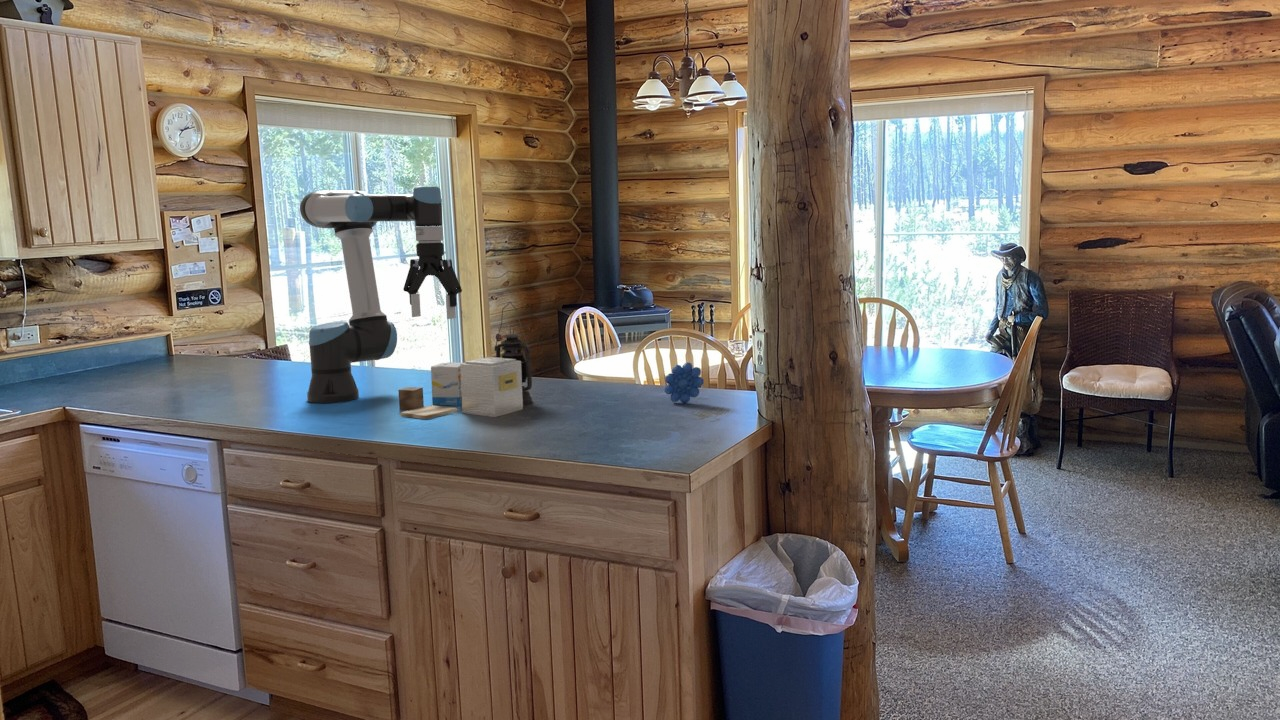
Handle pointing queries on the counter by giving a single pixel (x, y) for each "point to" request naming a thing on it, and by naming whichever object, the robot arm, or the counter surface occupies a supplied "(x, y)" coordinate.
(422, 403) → the walnut block
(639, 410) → the counter surface
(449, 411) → the board
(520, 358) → the lantern
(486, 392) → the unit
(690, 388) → the blue flower
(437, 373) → the ink box
